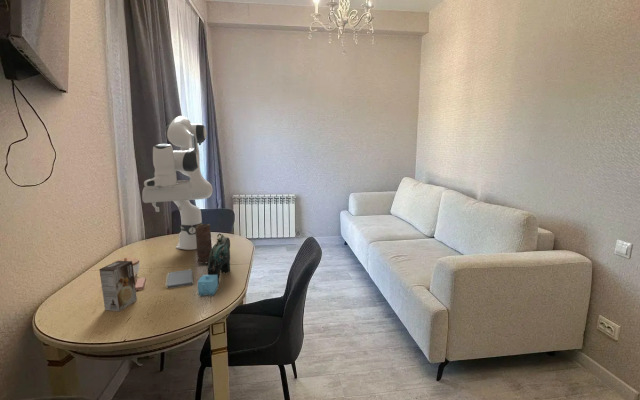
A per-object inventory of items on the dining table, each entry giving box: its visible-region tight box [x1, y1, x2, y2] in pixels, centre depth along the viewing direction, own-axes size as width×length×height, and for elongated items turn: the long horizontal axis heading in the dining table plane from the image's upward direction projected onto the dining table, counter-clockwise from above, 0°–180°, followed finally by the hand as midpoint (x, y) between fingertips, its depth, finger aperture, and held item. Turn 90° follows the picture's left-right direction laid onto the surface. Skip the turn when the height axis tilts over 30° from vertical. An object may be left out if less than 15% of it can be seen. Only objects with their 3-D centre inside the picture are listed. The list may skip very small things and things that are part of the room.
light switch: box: [134, 272, 147, 291], centre depth 140 cm, size 10×8×5 cm
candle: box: [195, 223, 213, 264], centre depth 167 cm, size 8×7×20 cm
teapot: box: [196, 274, 219, 297], centre depth 133 cm, size 12×6×8 cm, turn 4°
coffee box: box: [98, 260, 138, 312], centre depth 123 cm, size 9×6×16 cm
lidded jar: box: [112, 257, 140, 276], centre depth 150 cm, size 11×11×9 cm
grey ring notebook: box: [165, 268, 194, 290], centre depth 147 cm, size 16×11×1 cm
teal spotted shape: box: [207, 233, 231, 285], centre depth 148 cm, size 20×6×20 cm, turn 177°
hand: (169, 210), depth 151 cm, fingers open, 8 cm apart
